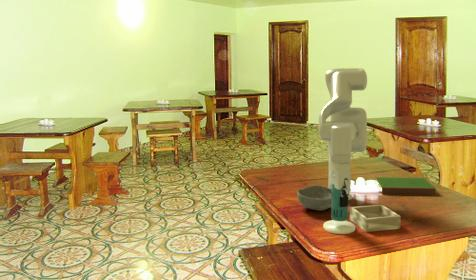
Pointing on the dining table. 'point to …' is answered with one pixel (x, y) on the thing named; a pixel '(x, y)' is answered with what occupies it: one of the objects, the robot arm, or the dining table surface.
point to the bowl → (315, 197)
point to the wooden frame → (374, 218)
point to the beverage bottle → (338, 206)
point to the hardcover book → (405, 186)
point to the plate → (339, 227)
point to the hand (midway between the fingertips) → (339, 203)
